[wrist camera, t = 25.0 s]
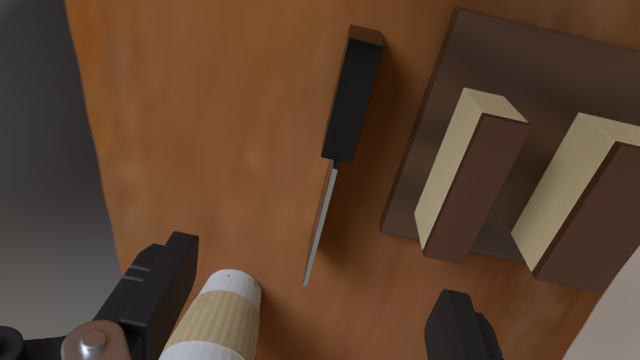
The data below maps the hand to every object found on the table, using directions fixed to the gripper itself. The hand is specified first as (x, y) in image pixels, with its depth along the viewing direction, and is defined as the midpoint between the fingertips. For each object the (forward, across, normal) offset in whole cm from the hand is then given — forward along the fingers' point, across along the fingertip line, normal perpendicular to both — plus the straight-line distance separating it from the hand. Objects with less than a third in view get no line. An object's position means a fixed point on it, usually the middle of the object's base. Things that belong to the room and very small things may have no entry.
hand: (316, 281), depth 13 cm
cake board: (+23, -16, +3) cm, 28 cm away
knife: (+23, -1, +6) cm, 24 cm away
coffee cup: (+23, +6, +26) cm, 35 cm away
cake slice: (+22, -11, +4) cm, 25 cm away
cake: (+22, -21, +4) cm, 31 cm away
